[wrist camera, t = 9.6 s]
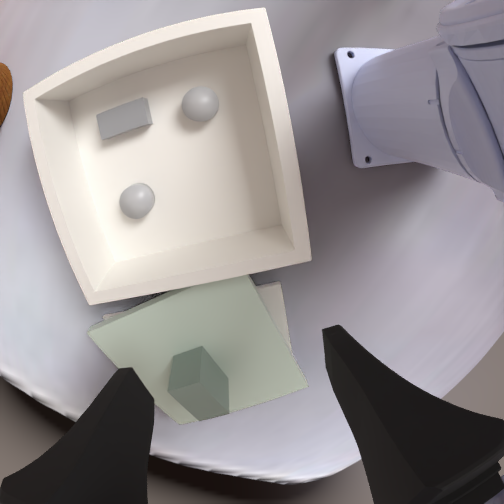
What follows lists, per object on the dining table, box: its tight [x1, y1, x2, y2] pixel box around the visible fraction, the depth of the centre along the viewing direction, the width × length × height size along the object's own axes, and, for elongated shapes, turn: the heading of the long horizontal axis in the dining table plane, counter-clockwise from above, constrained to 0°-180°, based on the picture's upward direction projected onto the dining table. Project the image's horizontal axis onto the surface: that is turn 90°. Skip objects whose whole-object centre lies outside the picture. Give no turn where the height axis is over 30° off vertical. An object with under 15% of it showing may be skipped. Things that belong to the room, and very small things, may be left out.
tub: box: [23, 8, 312, 305], centre depth 14 cm, size 13×13×4 cm
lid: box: [87, 274, 309, 425], centre depth 20 cm, size 13×13×5 cm
